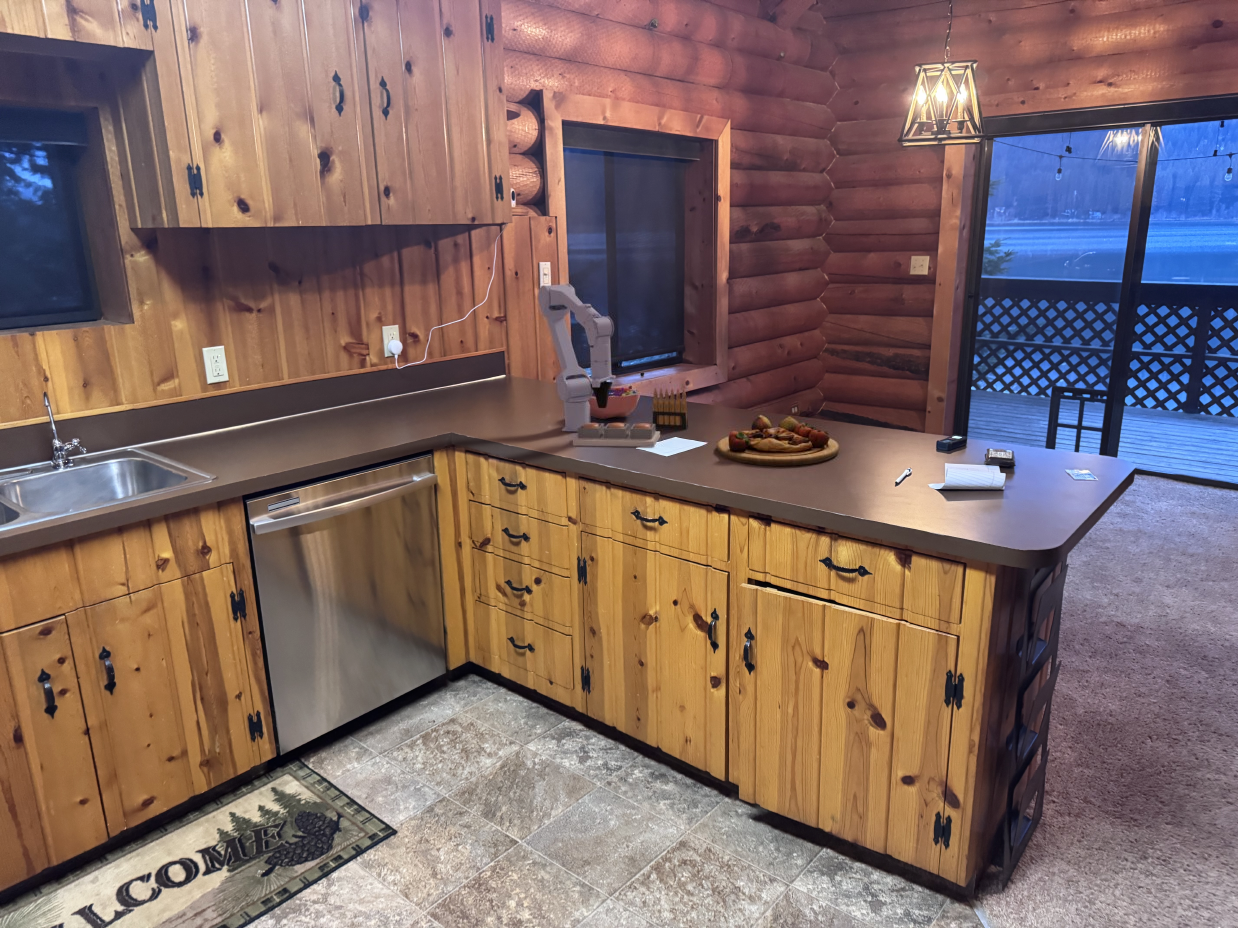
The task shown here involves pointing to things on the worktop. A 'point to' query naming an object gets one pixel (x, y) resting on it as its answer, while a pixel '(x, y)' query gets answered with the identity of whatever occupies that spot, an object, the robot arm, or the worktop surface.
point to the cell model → (615, 403)
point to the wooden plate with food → (778, 444)
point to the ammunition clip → (670, 410)
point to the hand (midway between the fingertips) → (602, 407)
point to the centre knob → (616, 425)
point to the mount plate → (616, 436)
